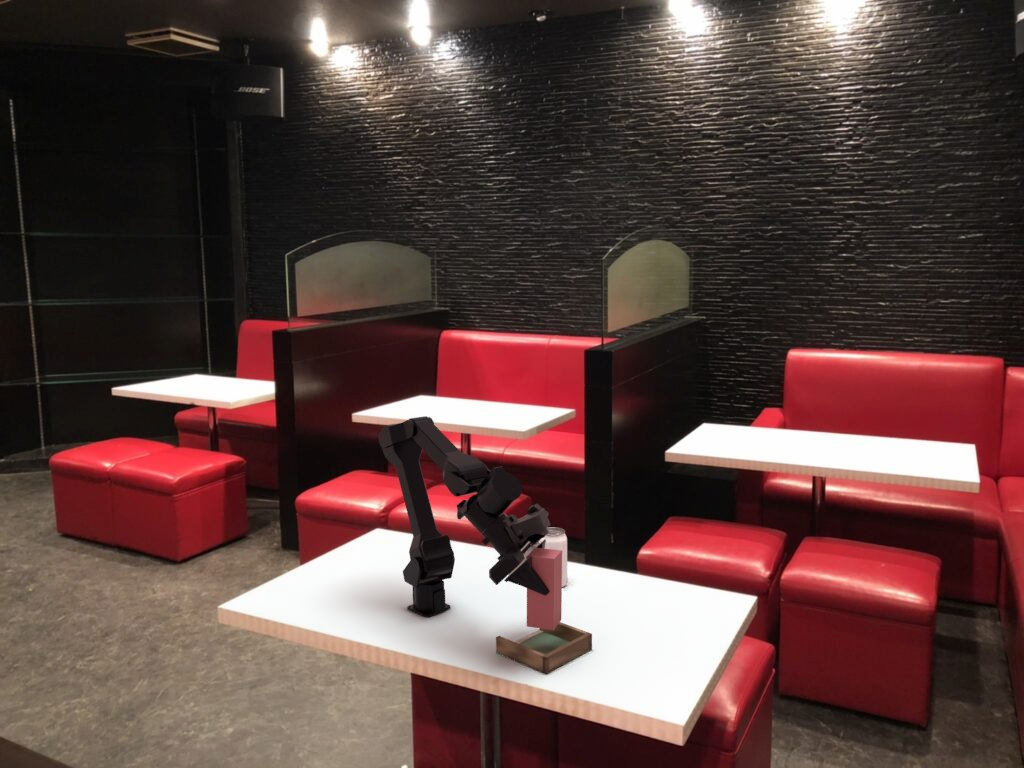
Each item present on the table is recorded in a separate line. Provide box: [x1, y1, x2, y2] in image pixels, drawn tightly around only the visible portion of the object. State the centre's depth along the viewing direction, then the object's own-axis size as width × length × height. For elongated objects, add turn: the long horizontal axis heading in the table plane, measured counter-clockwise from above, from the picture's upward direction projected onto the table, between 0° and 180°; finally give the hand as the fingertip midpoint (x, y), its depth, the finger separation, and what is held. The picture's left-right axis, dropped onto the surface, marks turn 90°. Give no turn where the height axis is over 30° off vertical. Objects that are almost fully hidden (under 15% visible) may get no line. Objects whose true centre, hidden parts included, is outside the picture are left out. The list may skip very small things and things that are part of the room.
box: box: [495, 621, 593, 675], centre depth 152 cm, size 12×13×3 cm
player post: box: [526, 548, 563, 630], centre depth 151 cm, size 5×5×13 cm
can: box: [538, 526, 568, 588], centre depth 184 cm, size 6×6×12 cm
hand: (551, 588), depth 151 cm, fingers closed on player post, 5 cm apart
